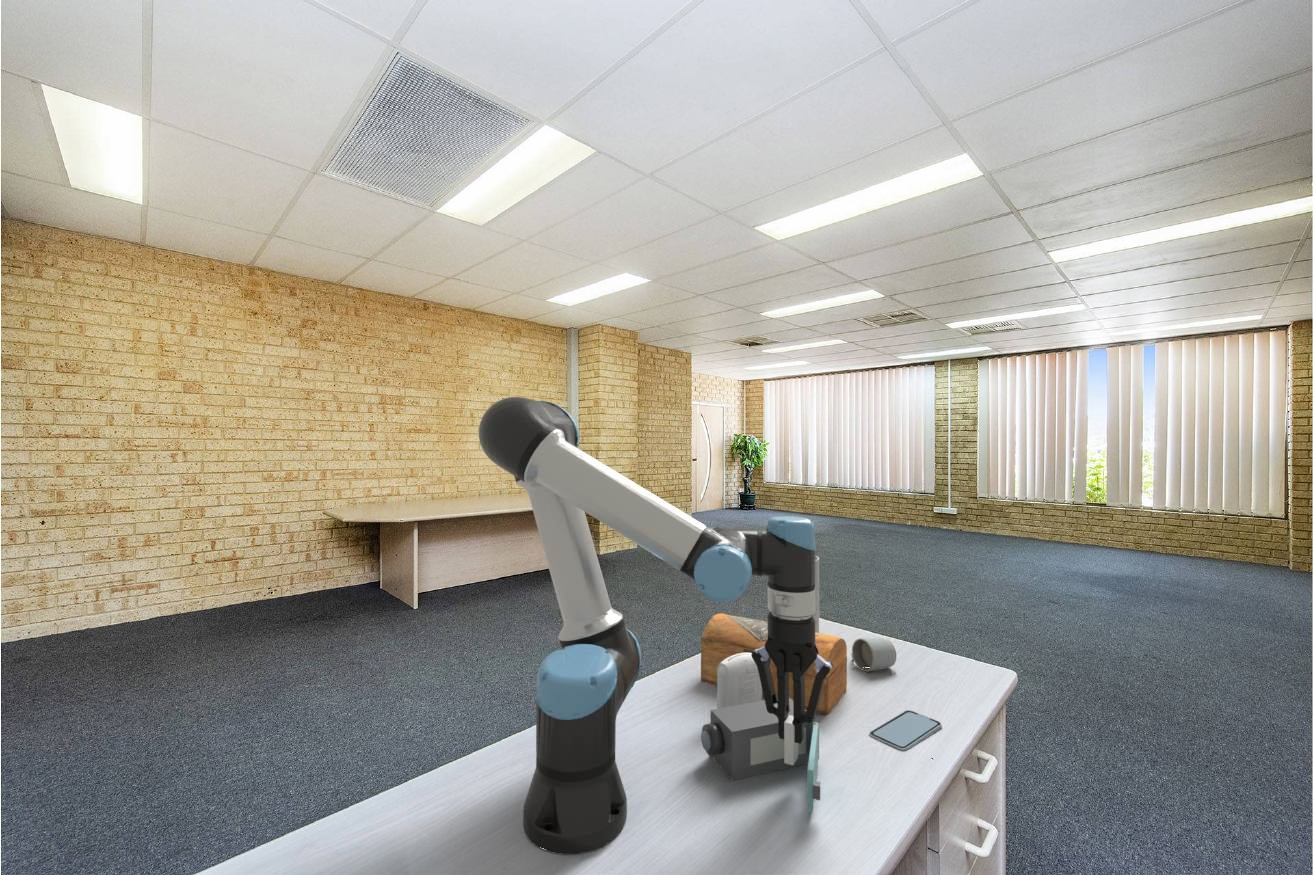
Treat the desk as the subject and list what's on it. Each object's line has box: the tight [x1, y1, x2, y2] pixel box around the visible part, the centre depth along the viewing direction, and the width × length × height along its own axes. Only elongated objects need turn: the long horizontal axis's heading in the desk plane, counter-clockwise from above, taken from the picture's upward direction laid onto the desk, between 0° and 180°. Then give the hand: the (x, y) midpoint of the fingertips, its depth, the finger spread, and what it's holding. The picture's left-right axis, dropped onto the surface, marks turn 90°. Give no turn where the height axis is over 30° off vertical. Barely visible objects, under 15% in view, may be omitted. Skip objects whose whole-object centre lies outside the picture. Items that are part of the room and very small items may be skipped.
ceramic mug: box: [850, 637, 897, 672], centre depth 138 cm, size 11×8×8 cm
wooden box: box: [700, 613, 848, 716], centre depth 126 cm, size 30×16×14 cm, turn 55°
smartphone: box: [868, 709, 942, 752], centre depth 106 cm, size 7×1×15 cm
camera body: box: [700, 698, 814, 782], centre depth 96 cm, size 19×8×9 cm, turn 110°
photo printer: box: [716, 653, 763, 709], centre depth 112 cm, size 10×4×12 cm, turn 123°
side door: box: [806, 721, 821, 812], centre depth 88 cm, size 15×2×6 cm, turn 160°
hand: (791, 759), depth 88 cm, fingers closed
